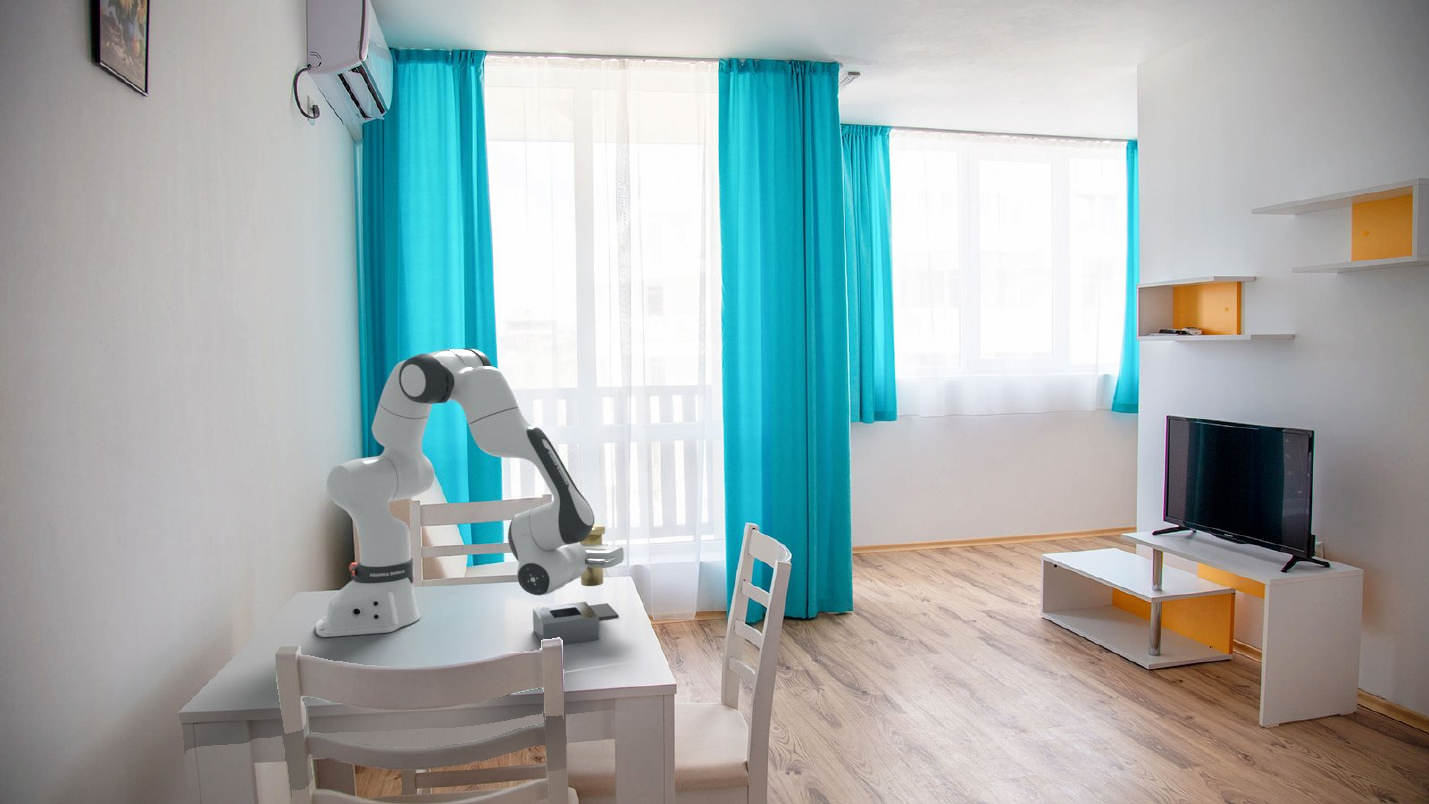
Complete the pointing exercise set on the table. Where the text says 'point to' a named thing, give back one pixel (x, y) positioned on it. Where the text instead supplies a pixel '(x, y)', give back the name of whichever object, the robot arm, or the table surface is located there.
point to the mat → (604, 611)
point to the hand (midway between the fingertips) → (592, 547)
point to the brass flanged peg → (592, 574)
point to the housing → (566, 623)
